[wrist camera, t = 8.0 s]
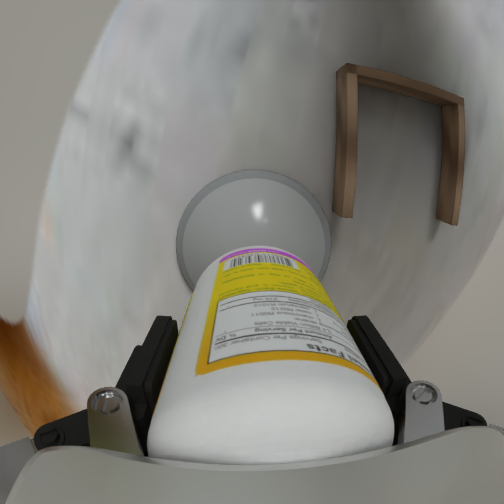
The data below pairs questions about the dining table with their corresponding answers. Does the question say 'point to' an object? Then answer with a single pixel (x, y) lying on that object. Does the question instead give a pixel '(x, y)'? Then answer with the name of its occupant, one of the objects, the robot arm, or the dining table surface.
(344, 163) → the frame
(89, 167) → the dining table surface
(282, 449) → the supplement bottle
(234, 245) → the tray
